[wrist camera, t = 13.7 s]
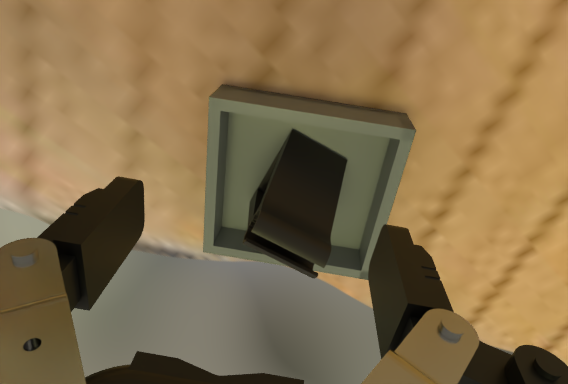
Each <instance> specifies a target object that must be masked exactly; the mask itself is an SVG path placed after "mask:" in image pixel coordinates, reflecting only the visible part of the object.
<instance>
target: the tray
mask: <svg viewBox="0 0 568 384" xmlns="http://www.w3.org/2000/svg"><path fill="white" fill-rule="evenodd" d="M292 129H293V130H294V131H296V132H298V133H300V134H302V135H303V136H305V137H307V138H309V139H311V140H312V141H314V142H316V143H318V144H320V145H321V146H323V147H325V148H327V149H329V150H330V151H332V152H334V153H336V154H337V155H339V156H341V157H343V158H345V159H346V160H347V164H346V169H345V173H344V178H343V182H342V187H341V191H340V196H339V200H338V205H337V209H336V214H335V218H334V223H333V227H332V232H331V253H330V256H329V259H328V262H327V264H326V266H325V268H322V267H320V266H318V265H316V264H314V267H313V271H318V272H324V273H330V274H336V275H342V276H348V277H354V278H359V279H365V280H368V270H369V264H370V260H371V257H372V254H373V251H374V248H375V245H376V243H377V240H378V237H379V234H380V231H381V228H382V227H383V225H384V224H387V221H388V218H389V215H390V212H391V209H392V205H393V202H394V199H395V196H396V193H397V189H398V186H399V183H400V180H401V177H402V174H403V170H404V167H405V164H406V161H407V158H408V155H409V151H410V148H411V145H412V142H413V139H414V136H415V132H416V129H415V127H414V126H413V124H412V122H411V121H410V119H409V117H408V116H407V114H405V113H399V112H392V111H386V110H380V109H374V108H367V107H361V106H355V105H348V104H342V103H336V102H330V101H323V100H317V99H311V98H305V97H298V96H292V95H286V94H279V93H273V92H267V91H261V90H254V89H248V88H242V87H235V86H229V85H223V84H222V85H221V86H220V87H219V88H218V89H217V90H216V91H215V92H214V93H213V94H212V95H211V96H210V97H209V113H208V139H207V165H206V191H205V217H204V243H203V252H206V253H212V254H218V255H224V256H230V257H236V258H241V259H247V260H253V261H259V262H265V263H271V264H277V265H283V266H287V265H285V264H283V263H281V262H279V261H277V260H275V259H273V258H271V257H269V256H267V255H265V254H263V253H261V252H259V251H257V250H255V249H253V248H251V247H249V246H247V245H245V244H243V239H244V236H245V233H246V230H247V227H248V217H249V205H250V200H251V198H252V197H253V195H254V193H255V191H256V190H257V188H258V186H259V185H260V183H261V181H262V179H263V178H264V176H265V174H266V173H267V171H268V169H269V168H270V166H271V164H272V162H273V161H274V159H275V157H276V156H277V154H278V152H279V151H280V149H281V147H282V145H283V144H284V142H285V140H286V139H287V137H288V135H289V134H290V132H291V130H292Z"/></svg>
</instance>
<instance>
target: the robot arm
mask: <svg viewBox="0 0 568 384" xmlns="http://www.w3.org/2000/svg"><path fill="white" fill-rule="evenodd" d="M143 228H144V186H143V182H142V181H141V180H136V179H130V178H124V177H116V178H115V179H114V180H113V181H112V182H111V183H110V184H109V185H108V186H107V187H106V188H105V189H100V188H98V189H96V190H93V191H91V192H89V193H87V194H85V195H83V196H82V197H81V198H80V199H79V200H78V201H76V202H75V203H74V206H71V207H70V208H69V209H68V210H67V211H66V213H65V214H64V213H63V214H62V215H61V216H60V217H59V218H58V219H57V220H56V221H55V222H54V223H53V224H51V225H50V226H49V227H48V228H47V229H46V230H45V231H44V232H43V233H42V234H41V235H40V236H38V237H37V238H27V239H20V240H17V241H14V242H11V243H8V244H6V245H4V246H3V247H1V248H0V384H304V380H300V379H294V378H288V377H282V376H277V375H271V374H265V373H258V374H243V375H228V376H218V375H214V374H212V373H210V372H208V371H205V370H203V369H201V368H199V367H196V366H194V365H192V364H189V363H187V362H185V361H183V360H181V359H178V358H173V357H167V356H162V355H156V354H150V353H144V352H139V351H137V353H136V354H135V357H134V359H133V361H132V363H131V365H123V366H117V367H112V368H109V369H105V370H102V371H99V372H97V373H94V374H91V375H89V376H87V377H85V376H84V372H83V367H82V362H81V357H80V353H79V348H78V343H77V339H76V334H75V329H74V325H73V320H72V315H71V311H72V310H73V309H74V308H78V309H84V310H90V309H91V308H92V306H93V305H94V303H95V302H96V300H97V299H98V298H99V296H100V295H101V293H102V291H103V290H104V289H105V287H106V286H107V285H108V283H109V282H110V280H111V279H112V277H113V276H114V274H115V273H116V272H117V270H118V268H119V267H120V266H121V264H122V263H123V261H124V260H125V259H126V257H127V256H128V254H129V253H130V251H131V250H132V248H133V247H134V246H135V244H136V243H137V241H138V240H139V238H140V236H141V234H142V231H143ZM368 280H369V286H370V292H371V298H372V305H373V311H374V317H375V323H376V329H377V335H378V341H379V348H380V353H381V360H380V362H379V363H378V364H377V365H376V366H375V368H374V369H373V370H372V371H371V372H370V374H369V375H368V376H367V377H366V379H365V380H364V381H363V382H362V383H361V384H568V366H567V365H566V364H565V363H564V362H563V361H561V360H560V359H559V358H558V357H556V356H555V355H553V354H552V353H550V352H548V351H546V350H544V349H542V348H539V347H536V346H532V345H522V346H519V347H518V348H517V349H516V350H515V351H514V353H513V354H512V355H511V354H508V353H506V352H504V351H501V350H499V349H497V348H494V347H492V346H489V345H487V344H485V343H483V342H481V341H479V337H478V334H477V332H476V331H475V329H474V328H473V326H472V325H471V324H470V323H469V322H468V321H467V320H465V319H464V318H463V317H461V316H460V315H458V314H456V313H454V312H453V309H452V307H451V304H450V302H449V299H448V297H447V294H446V292H445V289H444V287H443V284H442V282H441V281H440V277H439V274H438V272H437V271H436V267H435V264H434V262H433V259H432V257H431V256H430V255H429V254H428V253H427V252H426V251H425V249H424V248H423V247H422V246H419V245H414V244H413V241H412V238H411V236H410V233H409V230H408V229H407V228H403V227H398V226H392V225H386V224H384V225H383V227H382V228H381V231H380V234H379V237H378V240H377V243H376V245H375V248H374V251H373V254H372V257H371V260H370V264H369V270H368Z"/></svg>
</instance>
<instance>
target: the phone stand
mask: <svg viewBox="0 0 568 384" xmlns="http://www.w3.org/2000/svg"><path fill="white" fill-rule="evenodd" d="M346 164H347V160H346V159H345V158H343V157H341V156H339V155H337V154H336V153H334V152H332V151H330V150H329V149H327V148H325V147H323V146H321V145H320V144H318V143H316V142H314V141H312V140H311V139H309V138H307V137H305V136H303V135H302V134H300V133H298V132H296V131H294V130H293V129H292V130H291V132H290V134H289V135H288V137H287V139H286V140H285V142H284V144H283V145H282V147H281V149H280V151H279V152H278V154H277V156H276V157H275V159H274V161H273V162H272V164H271V166H270V168H269V169H268V171H267V173H266V174H265V176H264V178H263V179H262V181H261V183H260V185H259V186H258V188H257V190H256V191H255V193H254V195H253V197H252V198H251V200H250V205H249V217H248V227H247V230H246V233H245V236H244V239H243V244H245V245H247V246H249V247H251V248H253V249H255V250H257V251H259V252H261V253H263V254H265V255H267V256H269V257H271V258H273V259H275V260H277V261H279V262H281V263H283V264H285V265H287V266H289V267H291V268H293V269H295V270H297V271H299V272H301V273H303V274H305V275H307V276H309V277H311V278H316V277H318V273H316V272H314V271H313V267H314V264H316V265H318V266H320V267H322V268H325V266H326V264H327V262H328V259H329V256H330V253H331V232H332V227H333V223H334V218H335V214H336V209H337V205H338V200H339V196H340V191H341V187H342V182H343V178H344V173H345V169H346Z"/></svg>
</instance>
